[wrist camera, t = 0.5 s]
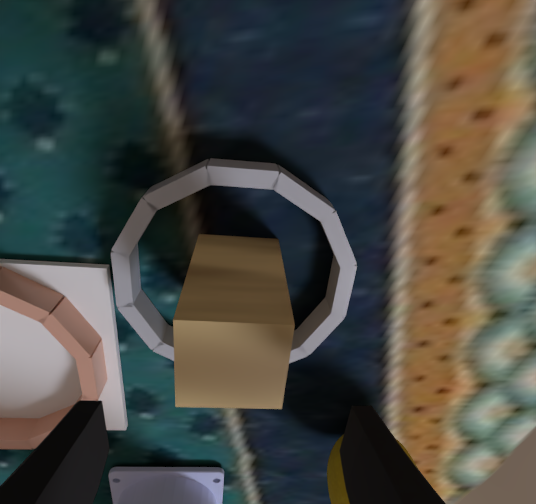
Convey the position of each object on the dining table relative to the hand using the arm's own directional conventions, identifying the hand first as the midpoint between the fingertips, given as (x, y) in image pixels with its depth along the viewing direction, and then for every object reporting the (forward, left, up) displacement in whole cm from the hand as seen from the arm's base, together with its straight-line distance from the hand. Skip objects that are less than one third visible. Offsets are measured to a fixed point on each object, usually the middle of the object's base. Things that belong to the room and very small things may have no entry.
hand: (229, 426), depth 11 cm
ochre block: (0, 0, -9) cm, 9 cm away
